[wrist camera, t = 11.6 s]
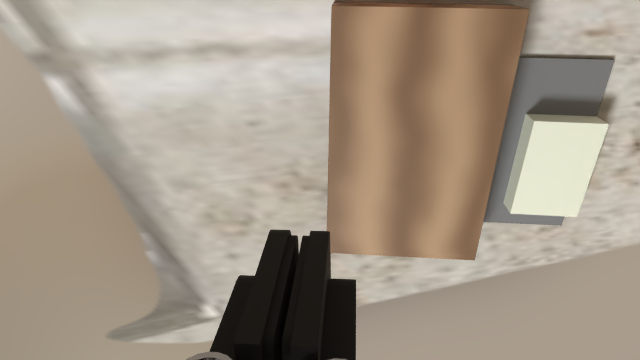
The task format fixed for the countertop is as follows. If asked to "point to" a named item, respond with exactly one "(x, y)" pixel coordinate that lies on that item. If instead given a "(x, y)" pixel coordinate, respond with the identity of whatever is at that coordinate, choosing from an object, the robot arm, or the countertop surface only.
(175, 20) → the countertop surface
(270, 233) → the robot arm
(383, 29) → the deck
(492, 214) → the mat
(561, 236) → the countertop surface
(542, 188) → the cream rectangular block
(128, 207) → the countertop surface
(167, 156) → the countertop surface
